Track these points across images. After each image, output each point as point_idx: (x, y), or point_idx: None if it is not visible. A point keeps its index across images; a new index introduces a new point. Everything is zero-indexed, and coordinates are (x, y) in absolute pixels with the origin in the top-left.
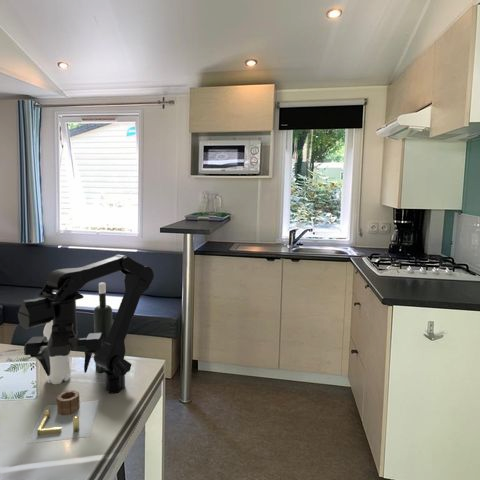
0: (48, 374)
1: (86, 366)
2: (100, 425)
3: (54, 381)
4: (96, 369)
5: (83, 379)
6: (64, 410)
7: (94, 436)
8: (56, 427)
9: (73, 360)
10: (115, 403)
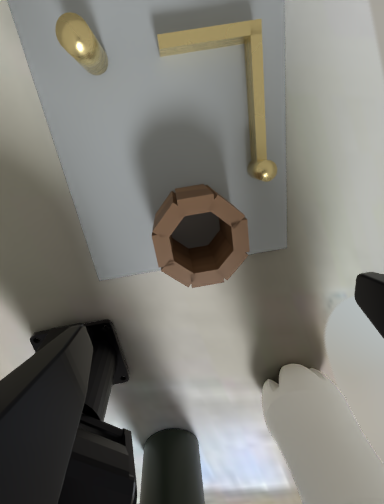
0: (371, 276)
1: (25, 367)
2: (22, 124)
3: (302, 372)
4: (192, 442)
5: (217, 397)
6: (197, 188)
7: (4, 34)
8: (180, 44)
9: (281, 474)
10: (39, 275)
